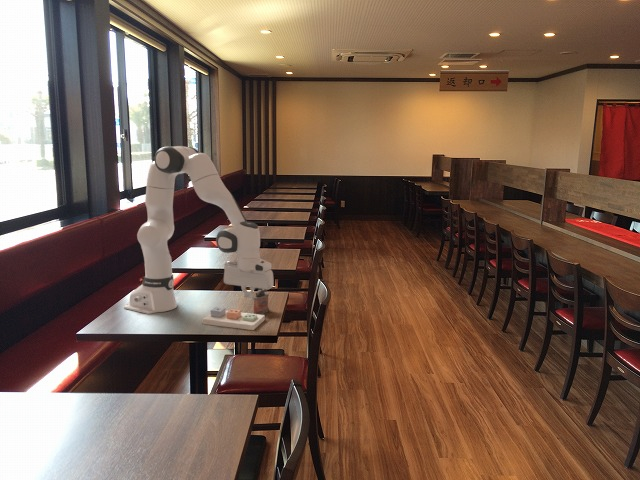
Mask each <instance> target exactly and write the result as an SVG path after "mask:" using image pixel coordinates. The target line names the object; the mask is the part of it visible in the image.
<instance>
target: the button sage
mask: <svg viewBox="0 0 640 480" xmlns="http://www.w3.org/2000/svg"><path fill="white" fill-rule="evenodd" d="M253 314H254V313H251V314H246V315H245V316H244V317H243V321H250V322H254V321H255V320H256V319H257V315H253Z"/></svg>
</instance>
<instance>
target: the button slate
mask: <svg viewBox="0 0 640 480" xmlns="http://www.w3.org/2000/svg"><path fill="white" fill-rule="evenodd" d="M226 311H227V310H226V308H225V307H218V306H215V307H214V308H213V309H210V313H211V317H218V318H222V317H223V316H224V315H226Z"/></svg>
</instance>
